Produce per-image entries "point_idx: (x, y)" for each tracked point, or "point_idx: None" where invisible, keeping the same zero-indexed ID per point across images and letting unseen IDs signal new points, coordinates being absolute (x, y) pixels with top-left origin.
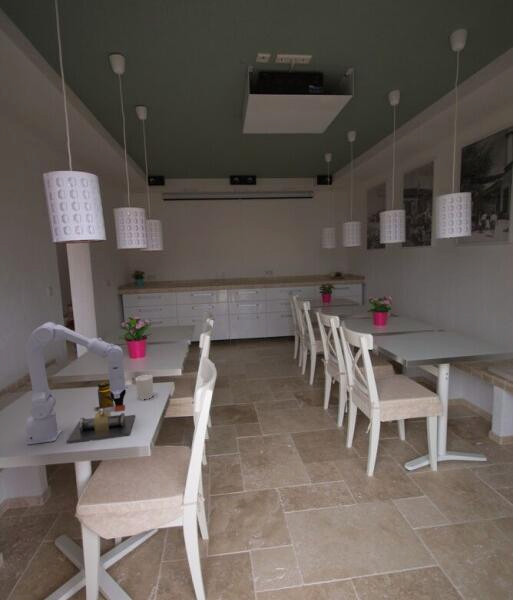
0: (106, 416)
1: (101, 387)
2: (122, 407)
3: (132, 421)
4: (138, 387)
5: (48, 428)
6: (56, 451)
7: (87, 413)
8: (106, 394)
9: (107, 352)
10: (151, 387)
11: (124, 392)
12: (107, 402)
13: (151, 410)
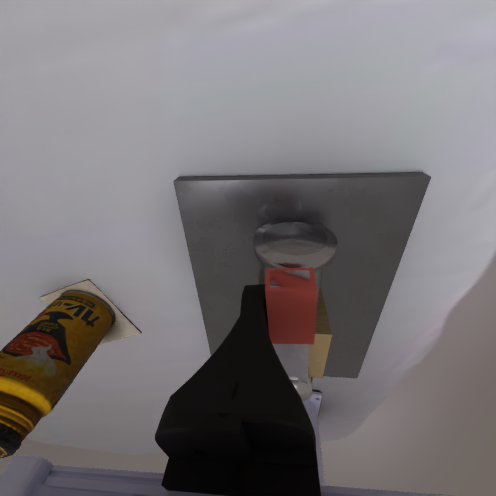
0: (320, 339)
1: (24, 434)
2: (315, 298)
3: (267, 183)
4: None
5: (317, 444)
6: (393, 381)
7: (137, 352)
8: (52, 373)
9: None
10: None
11: (268, 429)
12: (83, 332)
13: (77, 72)
